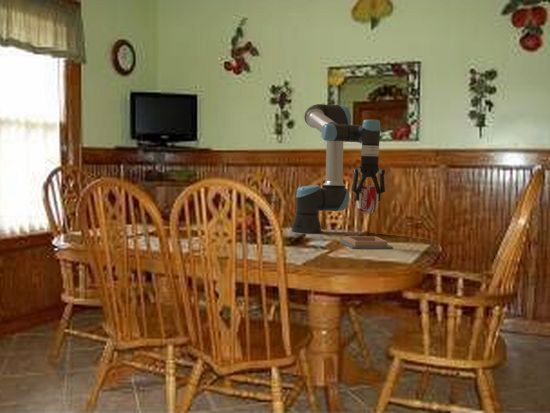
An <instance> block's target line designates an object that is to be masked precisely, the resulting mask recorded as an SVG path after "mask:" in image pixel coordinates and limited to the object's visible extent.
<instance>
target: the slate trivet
mask: <svg viewBox="0 0 550 413" xmlns="http://www.w3.org/2000/svg"><path fill="white" fill-rule="evenodd" d="M339 242H341V243H340V244H342V245H344V246H346V247H348V248H349V249H352V250H393V249H394V246H392V245H389V244H388V243H389V242H388V240H385V239H382V238H380V237H378V236H361V235H360V236H357V235H356V236H352V235H349V236H348V235H346V236H345V237H344V239H339Z"/></svg>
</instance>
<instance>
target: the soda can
mask: <svg viewBox="0 0 550 413" xmlns="http://www.w3.org/2000/svg"><path fill="white" fill-rule="evenodd" d="M360 193H361V194H362V195H361V209H359V212H360V213H361V214H371V215H373V214H374V213H375V212H376V210H377V209H376V194H377V193H376V188H375V186H374V185H367V184H365V185H364V184H363V186H362V188H361V191H360Z"/></svg>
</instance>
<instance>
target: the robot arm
mask: <svg viewBox="0 0 550 413" xmlns="http://www.w3.org/2000/svg"><path fill="white" fill-rule="evenodd" d="M304 121H305V123H306V125H307V126H308V127H310V128H313V129H316V130H317V131H318V132H320V133H321V134H320V135H321V138H322V140H324V141H326V148H325V149H326V151H325V182H324V183H322V187H321V186H320V185H318V184H313V185H311V184H310V185H304V186H300V187H298V188H297V189H296V195H295V217H294V220H293V222H292V225H291V232H295V233H303V234H317V233H322V224H321V220H320V218H319V212H343V211H344V210H346V208H347V206H348V204H349V201H350V200H349V199H350V193H349V189H348V188H347V187H346V184H345V183H344V182H343V173H344V172H343V170H344V168H343V167H344V142H350V143H361V151H360V153H361V154H360V155H361V156H360V167H359V168H353V180H352V186H351V192H354V193H355V201H357V204H356V206H357V207H356V208H357V209H359V210H360V209H361V195H362V194H361V193H360V191H361V188H362V186H363V185H364V183H365V181H366V179H367V178H371V180H372V182H373V186H375V188H376V209H375V210H377V209H379V202H381V195H382V194H383V193H386V189H385V188H386V187H385V173H386V172H385V171H386V170H385V169H380V167H379V161H380V160H379V159H380V157H379V155H380V142H381V141H380V139H381V138H380V137H381V136H380V135H381V121H380V120H379V119H364V120H363V121H362V125H361V124H352V114H351V111H350V109H349V107H348V106H346V105H341V104H325V103H317V104H313V105H311V106H310V107H308V108H307V109H306V111H305V113H304ZM360 172H361V176H360V175H359V174H360ZM377 174H379V175H378V176H379V182H378V177H377ZM359 176H360V179H359ZM358 180H359V181H358Z"/></svg>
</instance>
